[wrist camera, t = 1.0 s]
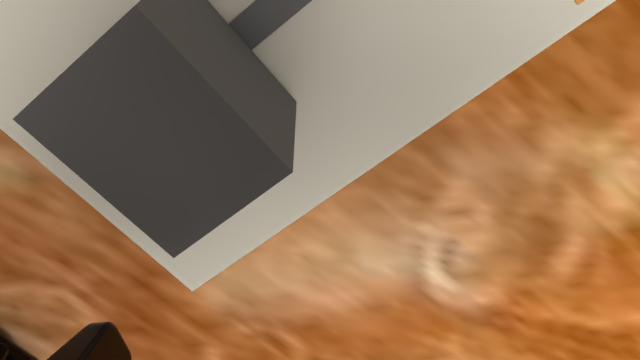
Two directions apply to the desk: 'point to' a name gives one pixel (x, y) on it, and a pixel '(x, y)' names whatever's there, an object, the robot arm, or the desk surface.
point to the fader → (169, 121)
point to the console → (302, 87)
